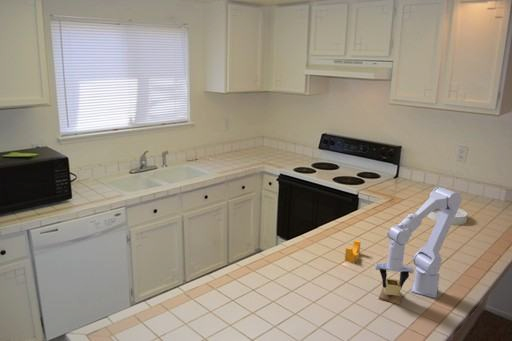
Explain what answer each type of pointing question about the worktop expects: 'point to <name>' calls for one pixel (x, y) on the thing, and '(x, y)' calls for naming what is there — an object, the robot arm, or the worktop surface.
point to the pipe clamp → (353, 252)
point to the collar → (392, 287)
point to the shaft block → (390, 297)
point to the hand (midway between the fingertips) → (391, 287)
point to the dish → (458, 220)
